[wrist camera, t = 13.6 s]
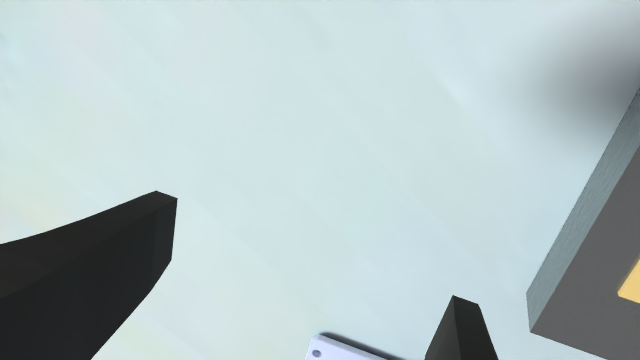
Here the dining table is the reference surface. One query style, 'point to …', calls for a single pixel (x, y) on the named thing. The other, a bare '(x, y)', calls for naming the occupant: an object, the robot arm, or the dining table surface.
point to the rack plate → (597, 258)
